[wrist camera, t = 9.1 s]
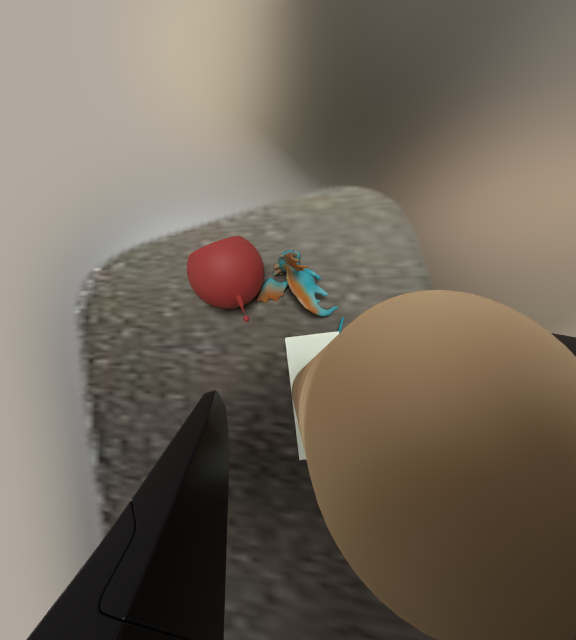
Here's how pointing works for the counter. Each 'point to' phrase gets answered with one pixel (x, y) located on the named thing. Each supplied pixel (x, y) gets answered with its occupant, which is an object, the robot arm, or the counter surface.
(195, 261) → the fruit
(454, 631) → the oak post
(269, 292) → the dragon figurine
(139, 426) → the counter surface
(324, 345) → the white block
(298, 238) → the counter surface
